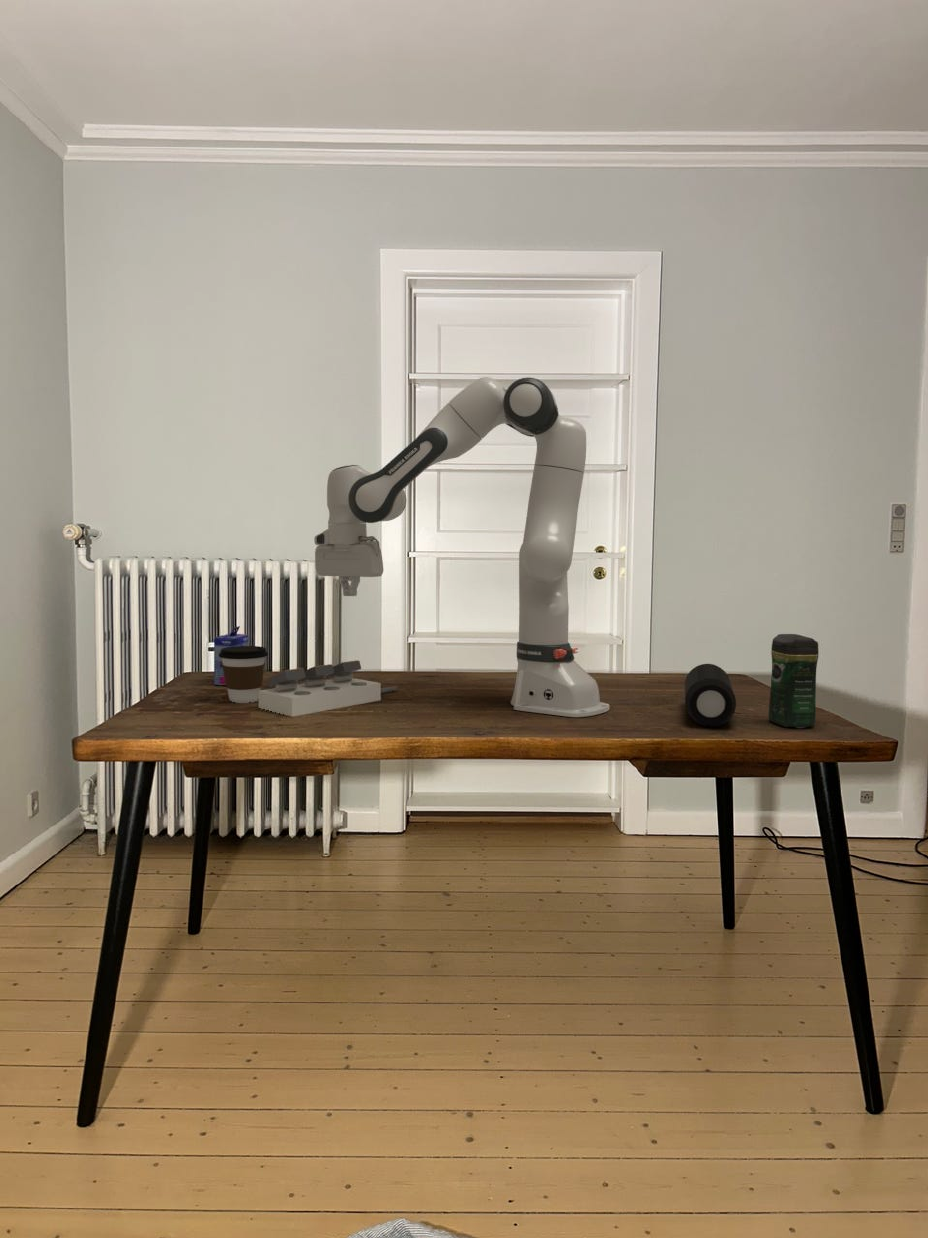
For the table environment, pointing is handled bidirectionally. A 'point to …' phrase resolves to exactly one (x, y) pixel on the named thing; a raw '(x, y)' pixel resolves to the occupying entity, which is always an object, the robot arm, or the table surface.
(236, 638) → the ink cartridge box
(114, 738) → the table surface
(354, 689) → the power strip
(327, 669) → the rocker
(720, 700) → the portable speaker
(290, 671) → the rocker
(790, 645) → the coffee jar
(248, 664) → the coffee cup
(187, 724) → the table surface
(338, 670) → the rocker
